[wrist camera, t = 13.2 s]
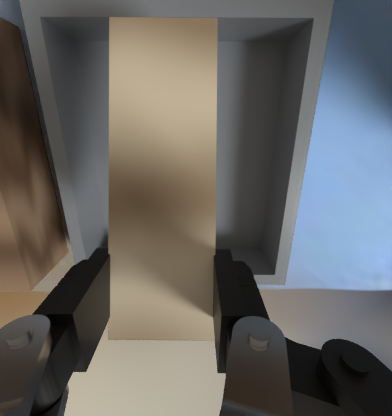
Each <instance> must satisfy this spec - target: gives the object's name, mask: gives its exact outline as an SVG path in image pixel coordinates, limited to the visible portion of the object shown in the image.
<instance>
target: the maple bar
mask: <svg viewBox="0 0 392 416" xmlns="http://www.w3.org/2000/svg"><path fill="white" fill-rule="evenodd" d="M217 34H218V18H155V17H109V218H108V254H110V318H109V320H108V340H194V341H196V340H198V341H205V340H206V341H214V340H215V335H214V324H213V267H214V255H215V242H216V138H217Z"/></svg>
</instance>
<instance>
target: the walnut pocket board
mask: <svg viewBox="0 0 392 416" xmlns="http://www.w3.org/2000/svg"><path fill="white" fill-rule="evenodd" d="M67 253H68V249H67V244H66V240H65V235H64V231H63V226H62V221H61V217H60V212H59V208H58V203H57V199H56V194H55V190H54V185H53V181H52V176H51V171H50V167H49V162H48V158H47V153H46V149H45V144H44V140H43V135H42V131H41V126H40V121H39V117H38V112H37V108H36V103H35V99H34V94H33V90H32V85H31V80H30V76H29V71H28V67H27V62H26V58H25V53H24V49H23V44H22V40H21V35H20V30H19V27H17V26H15V25H13V24H11V23H9V22H7V21H5V20H3V19H2V18H0V290H19V291H31V290H32V289H33V288H34V287H35V286H36V285H37V284H38V283H39V282H40V281H41V280H42V279H43V278H44V277H45V276H46V275H47V274H48V273H49V272H50V271H51V270H52V269H53V268H54V266H55V265H56V264H57V263H58V262H59V261H60V260H61V259H62V258H63V257H64V256H65V255H66V254H67Z"/></svg>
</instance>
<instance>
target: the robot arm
mask: <svg viewBox="0 0 392 416" xmlns="http://www.w3.org/2000/svg"><path fill="white" fill-rule="evenodd" d="M109 318H110V254H108V248H104V247H98V248H96V249H95V251H94V252H93V253H92V255H91V256H90V257H89V259H83V260H82V261H80V262H79V263H77V264H76V265H74V266H73V267H71V269H70V270H69V271H68V272H67V273H66V275H65V276H64V278H62V279H61V281H60V282H59V283H58V286H56V287H55V288H54V289H53V290H52V291H51V293H50V294H49V295H48V296H47V298H46V299H45V300H44V301H43V302H42V304H41V305H40V306H39V307H38V309H37V310H36V311H35V312H34V313H33V314H32V315H28V316H24V317H21V318H18V319H16V320H14V321H12V322H10V323H8V324H6V325H5V326H4V327H2V328H1V329H0V416H64V412H65V408H66V403H67V399H68V393H69V388H68V384H67V383H68V381H69V379H70V377H71V375H72V373H73V372H86V371H87V369H88V366H89V364H90V362H91V359H92V357H93V355H94V352H95V350H96V348H97V346H98V343H99V341H100V339H101V336H102V334H103V332H104V329H105V327H106V325H107V322H108V320H109ZM213 324H214V335H215V347H216V359H217V371H218V373H226V379H225V387H224V394H223V401H222V407H221V411H220V415H219V416H392V371H391V370H389V369H388V368H387V367H386V366H385V365H384V364H383V363H382V362H381V361H379V360H378V359H377V358H376V357H375V356H374V355H373V354H372V353H370V352H369V351H368V350H366V349H365V348H363V347H361V346H359V345H358V344H355V343H353V342H350V341H347V340H343V339H332V340H329V341H327V342H325V344H324V345H323V346H322V349H321V350H319V349H316V348H312V347H309V346H306V345H302V344H299V343H296V342H294V341H292V340H289V339H288V338H286V337H284V334H283V333H282V331H281V330H280V329H279V328H278V327H277V326H276V325H275V324H274V323H273V322H271V321H270V319H269V317H268V314H267V311H266V308H265V306H264V303H263V300H262V298H261V295H260V292H259V289H258V288H257V284H256V281H255V280H254V276H253V273H252V270H251V268H250V267H249V266H248V265H247V264H246V263H245V262H244V261H233V258H232V254H231V250H230V249H215V255H214V267H213Z"/></svg>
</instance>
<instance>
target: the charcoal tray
mask: <svg viewBox="0 0 392 416" xmlns="http://www.w3.org/2000/svg"><path fill="white" fill-rule="evenodd" d="M19 2H20V7H21V12H22V16H23V21H24V26H25V30H26V35H27V40H28V45H29V49H30V54H31V59H32V63H33V68H34V73H35V78H36V82H37V87H38V92H39V96H40V101H41V106H42V111H43V115H44V120H45V125H46V129H47V134H48V139H49V144H50V148H51V153H52V158H53V162H54V167H55V172H56V177H57V181H58V186H59V191H60V195H61V200H62V205H63V210H64V214H65V219H66V224H67V228H68V233H69V238H70V243H71V247H72V252H73V257H74V261H75V265H76V264H77V263H79V262H80V261H82V260H83V259H89V257H90V256H91V255H92V253H93V252H94V251H95V249H96V248H98V247H104V248H108V218H109V17H155V18H218V34H217V138H216V242H215V249H230V250H231V254H232V258H233V261H244V262H245V263H246V264H247V265H248V266H249V267H250V268H251V270H252V273H253V276H254V280H255V281H256V284H268V285H285V281H286V275H287V270H288V264H289V258H290V252H291V247H292V241H293V235H294V229H295V224H296V218H297V212H298V206H299V201H300V195H301V189H302V183H303V178H304V172H305V166H306V160H307V155H308V149H309V143H310V137H311V132H312V126H313V120H314V114H315V109H316V103H317V97H318V91H319V86H320V80H321V74H322V68H323V63H324V57H325V51H326V45H327V40H328V34H329V28H330V22H331V17H332V11H333V5H334V0H19Z"/></svg>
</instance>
